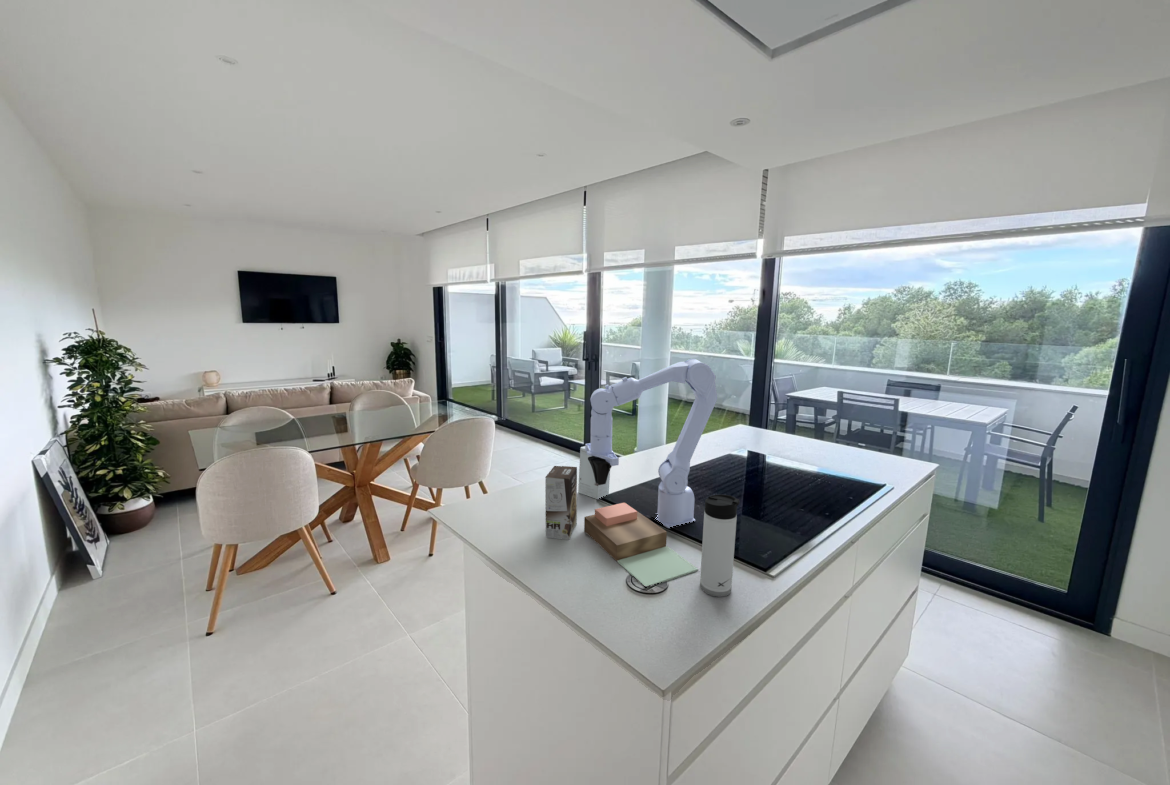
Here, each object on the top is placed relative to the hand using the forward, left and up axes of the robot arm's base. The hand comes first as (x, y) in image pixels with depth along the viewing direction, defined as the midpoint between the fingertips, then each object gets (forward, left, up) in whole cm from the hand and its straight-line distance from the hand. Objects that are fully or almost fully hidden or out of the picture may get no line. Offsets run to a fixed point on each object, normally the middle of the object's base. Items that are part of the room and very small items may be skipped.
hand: (600, 483), depth 123 cm
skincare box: (-7, -16, -11) cm, 20 cm away
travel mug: (-6, +38, -11) cm, 40 cm away
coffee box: (+12, +1, -11) cm, 16 cm away
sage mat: (0, +26, -10) cm, 28 cm away
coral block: (0, +8, -6) cm, 10 cm away
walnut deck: (0, +12, -10) cm, 16 cm away
